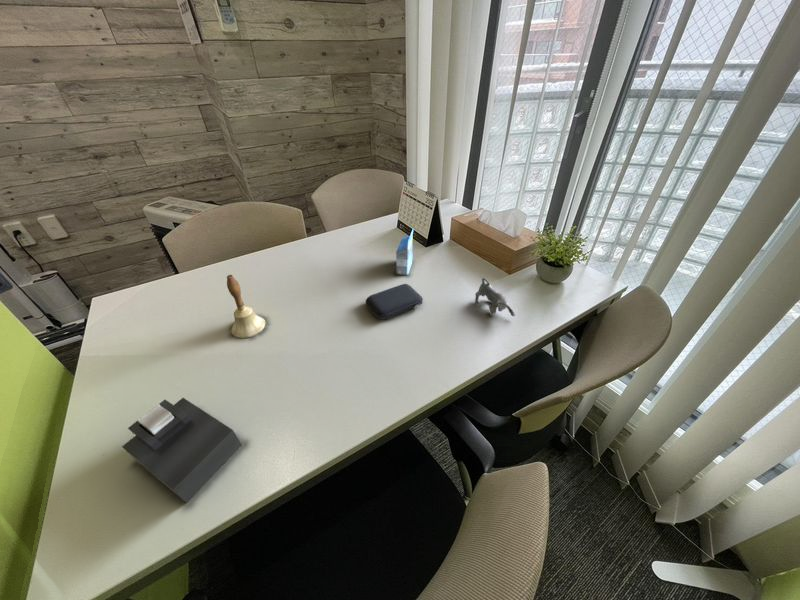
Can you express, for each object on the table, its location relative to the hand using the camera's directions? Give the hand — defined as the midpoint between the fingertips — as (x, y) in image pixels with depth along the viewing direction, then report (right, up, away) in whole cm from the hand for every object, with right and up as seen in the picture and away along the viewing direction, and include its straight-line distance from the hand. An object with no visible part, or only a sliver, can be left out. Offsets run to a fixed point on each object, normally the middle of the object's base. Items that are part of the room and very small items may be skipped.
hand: (2, 290), depth 44 cm
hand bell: (+14, -9, +41) cm, 44 cm away
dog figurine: (+80, -4, +46) cm, 92 cm away
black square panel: (+16, -29, +15) cm, 36 cm away
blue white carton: (+56, +9, +63) cm, 85 cm away
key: (+12, -23, +12) cm, 28 cm away
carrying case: (+53, -3, +47) cm, 71 cm away
